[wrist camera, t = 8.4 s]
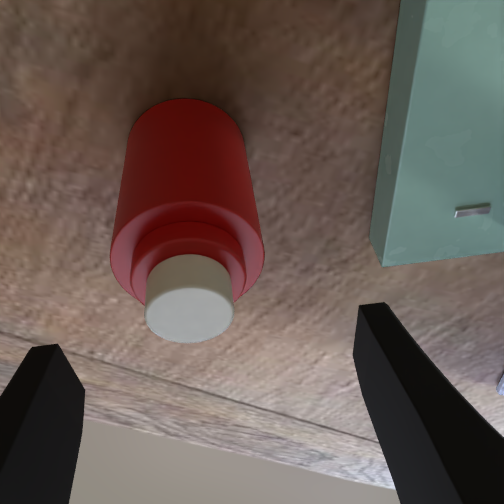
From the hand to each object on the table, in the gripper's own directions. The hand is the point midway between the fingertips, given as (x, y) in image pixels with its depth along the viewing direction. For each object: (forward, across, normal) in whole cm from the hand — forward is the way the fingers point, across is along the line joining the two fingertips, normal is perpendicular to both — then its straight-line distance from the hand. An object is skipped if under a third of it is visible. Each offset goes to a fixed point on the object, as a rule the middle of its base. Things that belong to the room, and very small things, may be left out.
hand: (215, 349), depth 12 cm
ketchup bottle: (+9, +1, 0) cm, 9 cm away
